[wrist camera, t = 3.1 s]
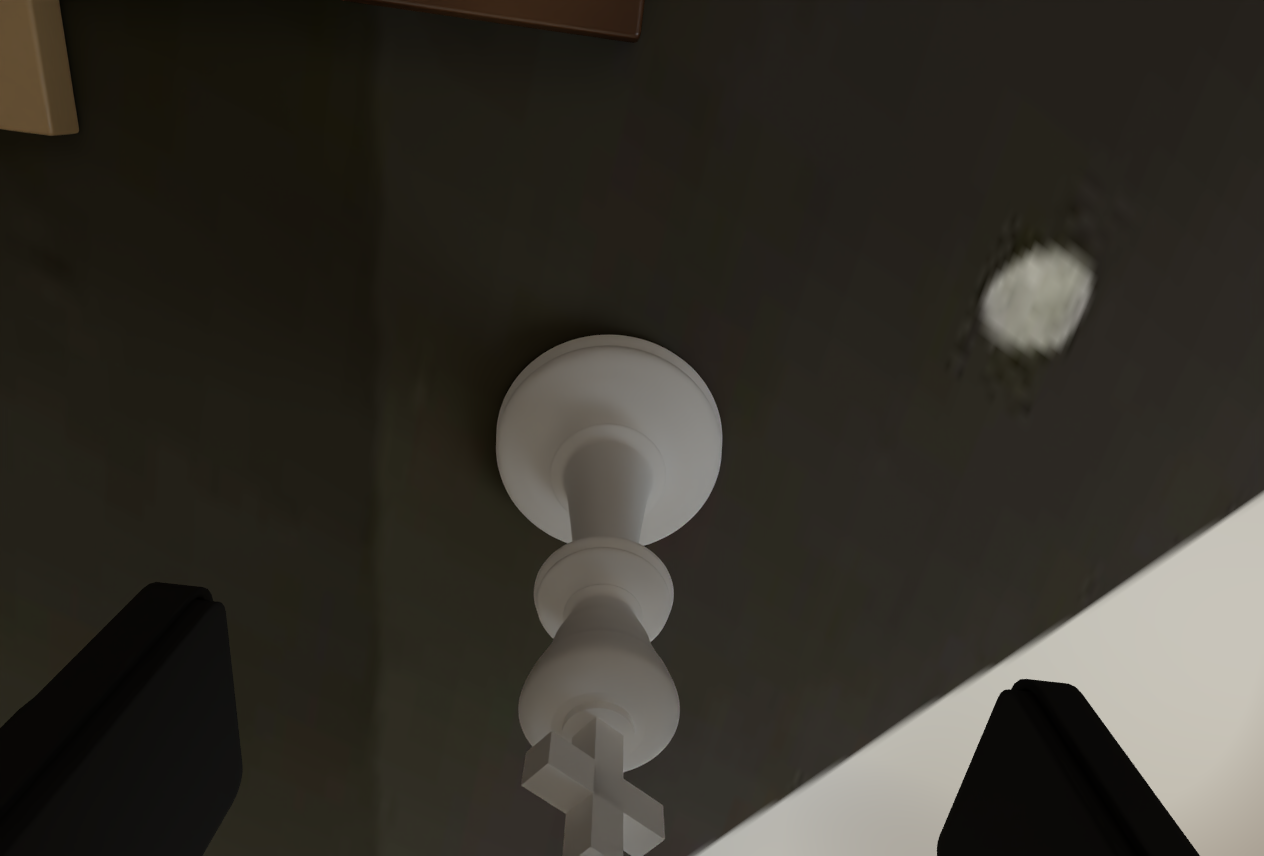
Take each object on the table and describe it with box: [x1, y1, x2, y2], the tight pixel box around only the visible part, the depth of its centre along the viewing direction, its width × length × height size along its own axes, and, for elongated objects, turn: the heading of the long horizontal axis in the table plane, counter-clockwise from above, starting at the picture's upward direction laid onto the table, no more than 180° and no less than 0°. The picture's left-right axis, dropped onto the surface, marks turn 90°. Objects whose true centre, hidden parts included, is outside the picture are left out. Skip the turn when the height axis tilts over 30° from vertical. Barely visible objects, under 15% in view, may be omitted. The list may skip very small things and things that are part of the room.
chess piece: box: [496, 335, 722, 856], centre depth 12 cm, size 5×5×10 cm
